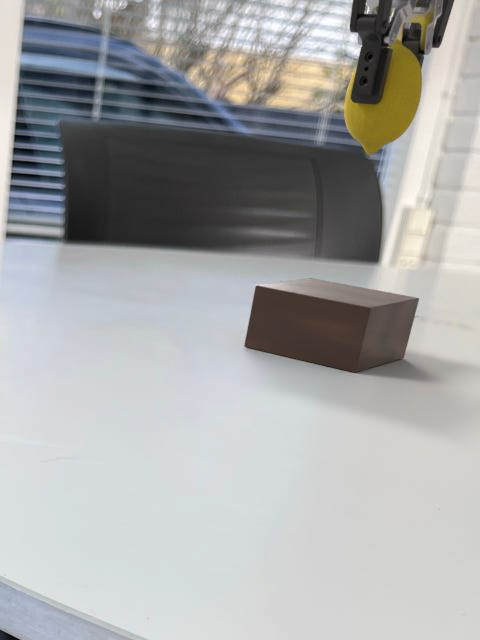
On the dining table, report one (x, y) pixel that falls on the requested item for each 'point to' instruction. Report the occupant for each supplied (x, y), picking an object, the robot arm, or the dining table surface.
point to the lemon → (387, 103)
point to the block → (330, 323)
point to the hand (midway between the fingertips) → (381, 105)
